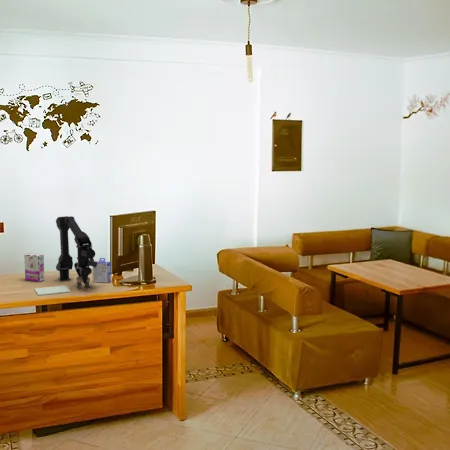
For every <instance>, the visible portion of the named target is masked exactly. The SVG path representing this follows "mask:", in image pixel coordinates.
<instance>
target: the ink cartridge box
mask: <svg viewBox="0 0 450 450" xmlns="http://www.w3.org/2000/svg"><path fill="white" fill-rule="evenodd" d="M95 261H96V260H95ZM96 262H97V263H98V264H97V266H96V268H95V267H92V282H94V283H109V282H111V281H112V275H111V273H112V272H111V267H112V266H111V264H112V263H111V261H106V257H99V259H98V261H96Z"/></svg>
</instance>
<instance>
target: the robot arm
mask: <svg viewBox="0 0 450 450" xmlns="http://www.w3.org/2000/svg"><path fill="white" fill-rule="evenodd" d="M55 224H56V227H57V229H58V230H59V238H60V239H59V240H60V241H59V243H60V255H59V256H58V262H57V263H56V265H55V270H56V271H59V277H58V278H57V279H58V280H59V281H60V282H62V281H64V282H65V281H71V278H70V270H73V267H74V270H75V271H76V273H77V277H82V280H83V284H84V285H85V284H86V282H87V278H88V277H89V275H91V274H93V267H95V268H96V266H97V264H98V263H97V262H96V260H95V259H94V258H95V257H96V252H95V249H93V243H92V241H91V240H90V237H89V235H88V233H86V232H85V231H83V230H82V229H81V228H80V226H79V225H78V222H76V219H75V217H74V216H69V215H67V216H66V215H64V216H57V218H56V219H55ZM69 230H70V231H71V232H72V235H74V243H75V245H76V246H75V247H76V248H77V257H76V260H77V262H73V256H71V255H70V248H69V247H70V245H69V244H70V243H69ZM91 267H92V268H91Z"/></svg>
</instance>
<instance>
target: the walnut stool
mask: <svg viewBox="0 0 450 450" xmlns="http://www.w3.org/2000/svg"><path fill="white" fill-rule="evenodd" d="M90 282H91V278H90V277H89V276H88V278H87V282H86V284H84V282H83V280H82V277H79V276H76V283H77V285H76V287H77V288H78V289H79V290H82V283H83V284H84V285H85V287H86V288H87V289H90Z"/></svg>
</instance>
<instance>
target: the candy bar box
mask: <svg viewBox="0 0 450 450" xmlns="http://www.w3.org/2000/svg"><path fill="white" fill-rule="evenodd" d="M23 257H24V275H25V276H24V279H25V281H30V282H39V283H40V282H41V283H42V282H44V281H45V262H44V258H45V257H44V254H42V253H41V254H40V253H39V254H38V253H25V254H24V255H23Z"/></svg>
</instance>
